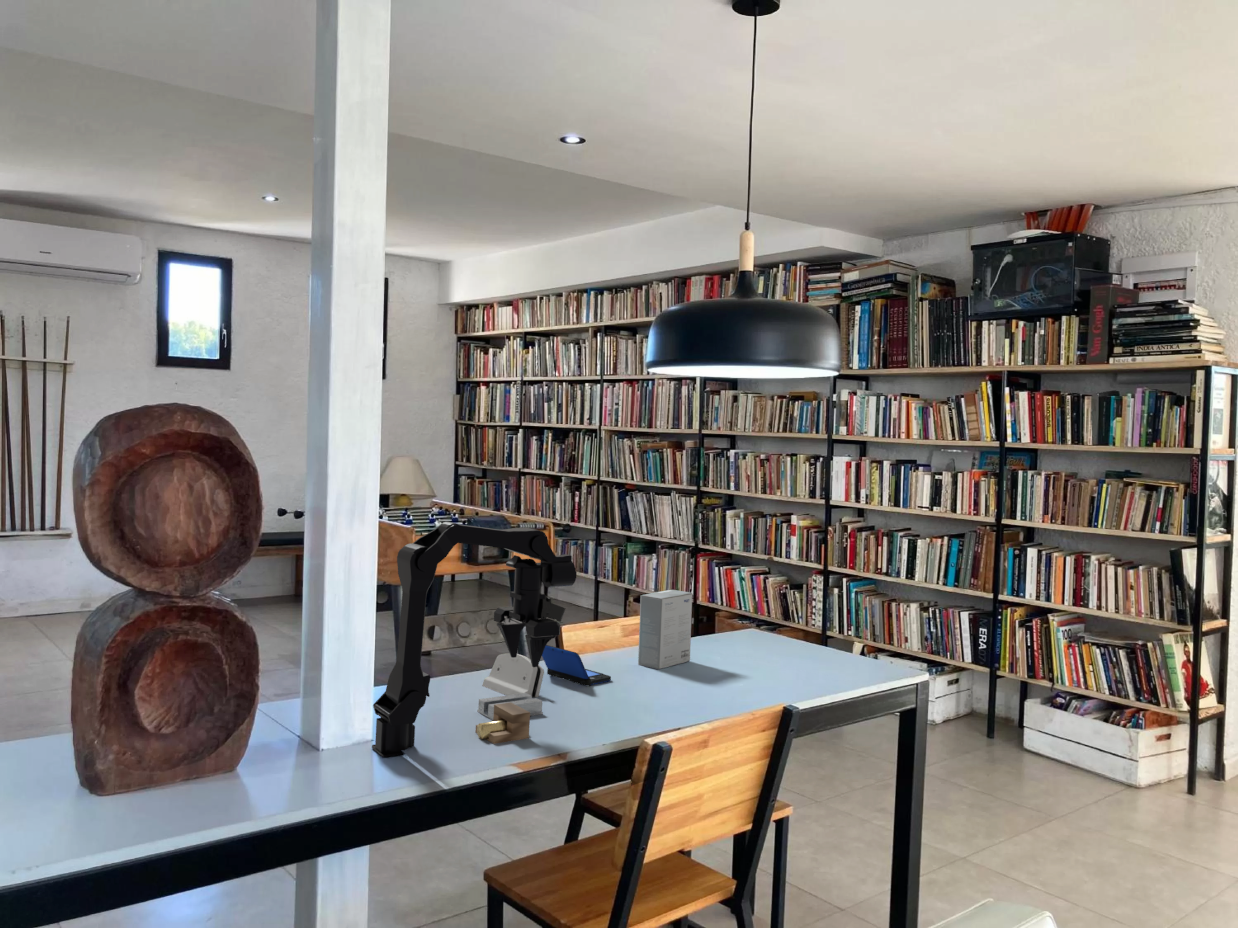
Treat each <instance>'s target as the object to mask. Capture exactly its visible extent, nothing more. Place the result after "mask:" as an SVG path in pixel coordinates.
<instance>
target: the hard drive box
mask: <svg viewBox="0 0 1238 928" xmlns="http://www.w3.org/2000/svg"><path fill="white" fill-rule="evenodd" d="M639 605H640V608H639V627H638V628H639V630H638V631H639V633H638V657H637V659H638V660H637V664H638V666H642V667H647V668H651V669H656V670H661V669H665V668H668V667H672V666H677V665H680V664H683V663H687V662H690V661H691V641H692V637H691V636H692V615H693V614H692V612H693V593H692V592H690V591H683V590H678V589H677V590H676V589H668V590H662V591H657V592H651V593H646V594H645V593H644V594H642V595H641V594H640V602H639Z"/></svg>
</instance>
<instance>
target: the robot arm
mask: <svg viewBox="0 0 1238 928" xmlns="http://www.w3.org/2000/svg"><path fill="white" fill-rule="evenodd" d="M457 544H465V545H474V546H480V547H481V546H482V547H490V548H498V549H505V550H507V551H509V552H513V553H516V554H519V555H524V556H527V557H529V558H522V557H520V556H519V555H513V556H512V558H511V559H509V560H508V561H507V562H506V563H505V566H506V567H509V568H513V569H515V570H514V583H513V585H514V587H513V588H514V589H513V591H509V597H510V598H513V603H512V606H508V607H507V606H505V607H498V608H496V610H494V611H493V621H494V622H496V626H497V627H498V630H499V631H500V634H501V635H502V637H503V640H504V643H505V645H506V648H507V650H508V653H510V655H511V657H512V658H514V657H516V656H517V654H518V651H519V644H520V637H521V633H522V630H523V629H524V628H525V631H526V633H527V634H525V635H524V636H525V641H526V646H527V650H528V653H529V654H528V655H529V658H530V660H531V664H532V667H538V664H539V665H540V662H541V659H542V654H543V651H544V649H545V646H546V645H548V643H549V642H550V641H551V640H553V639H556V637H557V636H560V635H561V624H559V623H561V622H562V620H563V617H564V615H565V613H566V612H565V611H566V608H565V607H563V606H560V605H558V604H555V603H552V598H550V597H548V596H546V593H542V589H543V588H542V586H543V585H544V587H546V588H559V587H561V588H562V587H572V586H573V585H575V582H576V580H577V574H578V573H577V571H576V566H575V564H574V562H573V561H572V559H573V558H572V557H573V556H572V554H571V555H570V554H559V555H556V554H555V553H554V551H553V549H552V548H551V546H550V544H549V539H548V536H547V534H546V532H544V531H543V530H539V529H535V528H530V527H512V528H506V529H498V528H497V529H496V528H488V527H482V526H476V525H474V526H473V525H466V524H458V523H456V522H452V521H444V522H442V523H440V524H439V525H438V526H436V527H435V528H434V529H433V530H431V531H429V532H428V533H426V534H423V535H422V536H421V537H419V538H417V539H416V540H415V541H413V542H412V543H407V544H406V545H403V547H401V549H399V550H398V552H397V556H396V565H397V575H398V577H399V578H398V579H399V582H400V585H401V590H402V592H401V593H402V594H401V595H402V596H401V605H400V614H399V615H400V618H399V628H398V640H397V652H396V661H395V662H396V663H395V664H394V666H393V668H392V670H391V672H390V674H389V675H388V679H387V680H388V681H387V684H386V688H385V691H384V692H383V693H382V694H381V696H380V697H379V698H378V699H377V700H376V701H375V702H374V703H373V705H372V707H373V710H374V713H375V715H376V716H378V717H377V718H376V723H375V744H372V745H371V749H372V750H374V752H376V753H378V754H379V755H380V756H381V757H383V758H388V757H393V756H400V755H405V754H406V753H405V752H404V751H406V750H407V749H410V748H412V747H414V746H415V737H416V726H415V724H414V723H416V720H417V718H418V715H419V712H420V710H421V709H422V708H423V707H424V706H425V704H426V701H427V698H428V697H430V692H429V691H430V690H429V689H430V688H429V687H430V682H431V675H430V674H428V673H426V672H424V671H423V669H422V665H421V663H422V652H423V638H424V629H425V628H424V627H425V617H426V616H425V615H426V608H427V607H426V605H427V594H428V591H429V588H430V587H431V585H432V583H433V582H434V579H435V575H436V572H437V569H438V564H440V562H442V561H444V559H445V558H446V557H447V556H448V555H449V553H450V552H451V551H452V549H453V548H454V547H455V546H456V545H457ZM535 560H539V561H540V562H536V561H535Z"/></svg>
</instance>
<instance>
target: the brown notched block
mask: <svg viewBox="0 0 1238 928" xmlns="http://www.w3.org/2000/svg"><path fill="white" fill-rule="evenodd" d="M530 719H531V716H530V712H528V711H526V710H524V709H523V708H521V707H519V706H517V705H515V704H513V703H511V702H510V703H503V704H496V705H494V716H493V720H492V722H493V721H500V720H506V721H507V730H506V731H499V732H493V733H489V738H484V739H485V740H486V741H488V742H490V743H491V744H493V745H495V744H502V743H507V742H513V741H519V740H526V739H530V726H531V725H530V723H531V722H530ZM477 726H478V724H475V733H476V734H477Z"/></svg>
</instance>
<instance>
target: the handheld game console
mask: <svg viewBox="0 0 1238 928" xmlns="http://www.w3.org/2000/svg"><path fill="white" fill-rule="evenodd" d="M541 658H542V659H543V662H544V664H545V666H546V668H547V670H546V671H547V672H546V674H547V675H548V674H549V676H552V677H555V678H560V679H562V678H564V680H568V679H570V680H569V681H571V682H572V681H573V682H572V683H575V682H576V683H575V684H579V683H580V685H582V684H583V685H582V686H585V687H589V686H592V685H593V684H594V685H599V684H603V682H604V683H608V682H610V681H612V680H611V679H612V677H611V675H608V674H604V673H602V672H598V671H595V670H591V669H588V668H585V665H584V663H583V661H582V658H581V657H580V655H579V654H578V653H577V652H575V651H572V650H567V649H563V648H561V647H557V646H553V645H548V644H546V646H545V649H544V651H543V654H542V656H541ZM607 681H608V682H607ZM598 683H599V684H598ZM594 685H593V686H594Z"/></svg>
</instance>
